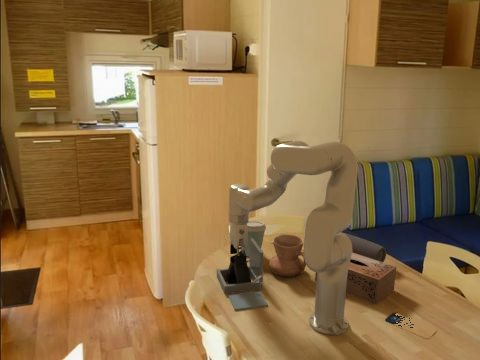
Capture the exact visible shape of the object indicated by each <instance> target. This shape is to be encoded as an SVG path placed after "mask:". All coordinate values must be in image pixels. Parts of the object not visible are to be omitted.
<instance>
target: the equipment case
mask: <svg viewBox="0 0 480 360" xmlns="http://www.w3.org/2000/svg"><path fill="white" fill-rule="evenodd" d="M264 255H265V253H264V250H262V248H261V249H260V247H259V246H258V244H257V243H256V242H255V240H254V239H253V238H251V239H250V257H248V258H247V259H246V260H247V263H249V266H248V269H249V274H250V278H251V282H248V283H239V284H227V282H225V278H226V275H227V271H228V268H223V269H222V268H221V269H219V268H218V269H216V279H217V280H218V282H219V285H220V287H221V290H222V291H223V294H224V295H226V294H227V295H229V294H237V293H246V292H254V291H261V290H262V283H263V282H264Z"/></svg>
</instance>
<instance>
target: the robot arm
mask: <svg viewBox="0 0 480 360" xmlns="http://www.w3.org/2000/svg"><path fill="white" fill-rule="evenodd" d="M328 172H331V173H330V177H329V179H328V182H327V184H326V188H325V197H324V202H323V204H322V205H320V206H317V207H315V208H314V209H312V210H311V211H310V213H309V214H308V216H307V218H306V223H305V229H304V239H303V241H304V243H303V249H302V250H303V251H302V252H303V255H304V258H303V261H304V260H305V263H306V267H307V268H308V269H309V270H311V271H312V272H314V273H316V272H317V280H316V281H315V282H316V283H315V284H316V285H315V299H314V312H313V313H312V314H310V316H309V318H308V319H309V320H308V322H309V325H310V327H311V328H312V329H313V330H315V331H316V332H319V333H321V334H324V335H336V336H340V335H341V334H342V333H345V332H346V331H347V330H348V328H349V321H348V318H347V317H345V311H346V310H345V307H346V297H347V296H346V295H347V293H346V286H347V276H348V268H349V264H350V260H351V256H352V244H351V241H350V239H349V238H348V237H347V236H346V235H345V234H343V233H344V232H343V231H345V230H346V229H348V228H349V227H350V226H351V224H352V220H353V213H354V212H353V211H354V204H355V194H356V186H357V179H358V173H359V165H358V159H357V157H356V155H355V153H354V151H353V150H352V149H351V148H350V147H349V146H348V145H346V144H345V143H342V142H338V141H329V142H328V141H327V142H324V143H319V144H316V145H312V146H310V145H309V144H308V143H307V142H304V141H302V140H293V141H289V142H284V143H280V144H278V145H276V146H274V148H273V149H272V151H271V154H270V164H269V165H268V167H267V169H266V176H267V178H268V179H269V180H268V181H266V182H265V184H263V185H262V186H258V187H254V188H252V189H250V187H249V185H247V184H244V183H234V184H232V185H230V186H229V190H228V218H227V219H228V222H229V223H230V226H229V227H230V228H229V240H230V241H229V242H230V246H229V247H230V248H229V253H230V255H236V254H237V255H236V265H245V248H248V229H247V223H248V221H250V219H249V217H250V216H249V215H250V212H251V213H252V212H255V211H258V210H260V209H264V208H266V207H269V206H271V205H273V204H274V203H275V202H277V200H279V198H280V197H281V196H283V194H284V193H285V192H286V189H287V188H288V187H287V186H288V184H289V182H291V180H292V179H293V178H295V176H296V175H304V176H305V175H306V176H318V175H323V174H325V173H328ZM341 232H342V233H341Z"/></svg>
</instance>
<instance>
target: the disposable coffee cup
mask: <svg viewBox="0 0 480 360" xmlns="http://www.w3.org/2000/svg"><path fill="white" fill-rule="evenodd" d="M266 227H267V226H266V224H265V222H263V221H259V220H249V221H248V223H247V229H248V248H245V253H246V255H247V258H250V239H251V238H253V239H254V240H255V242H256V243H257V244H258V246H259V247H260V249H261V250H262V246H263V242H264V237H265V231H266V230H267V229H266Z"/></svg>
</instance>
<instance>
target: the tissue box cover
mask: <svg viewBox="0 0 480 360" xmlns="http://www.w3.org/2000/svg"><path fill="white" fill-rule="evenodd" d="M396 274H397V266H396V265H393V264H390V263H386V262H380V261H377V260H374V259H371V258H368V257H365V256H362V255H359V254H356V253H353V252H352V256H351V260H350V264H349V268H348V276H347V286H346V294H348V295H350V296H353V297H356V298H358V299H361V300H363V301H366V302H368V303H371V304H373V305H374V306H375V305H376V306H377V305H378V304H379V303H380V302H381V301H383V300H384V299H385V298H386V297H387V296H389V295H391V293H393V292H394V291H395V285H396ZM316 280H317V272H315V277H314V281H315V282H316ZM393 290H394V291H393Z"/></svg>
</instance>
